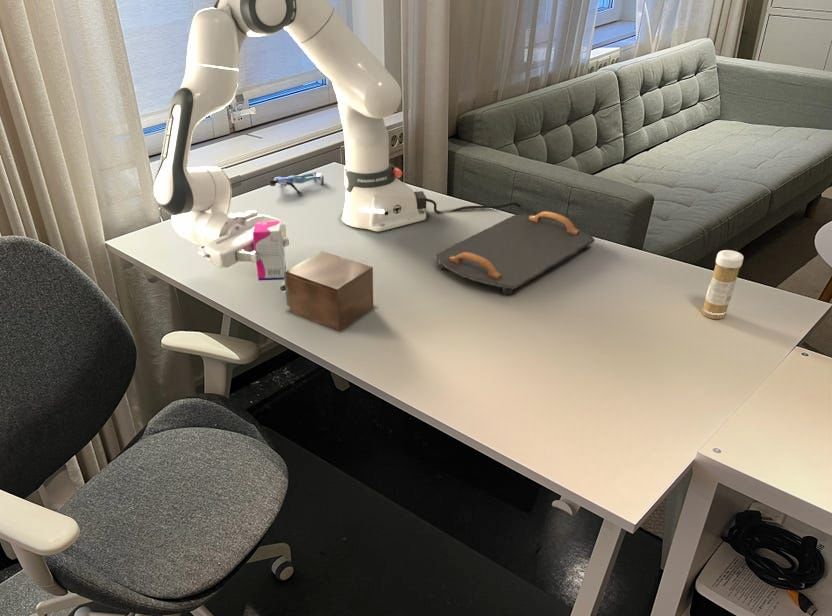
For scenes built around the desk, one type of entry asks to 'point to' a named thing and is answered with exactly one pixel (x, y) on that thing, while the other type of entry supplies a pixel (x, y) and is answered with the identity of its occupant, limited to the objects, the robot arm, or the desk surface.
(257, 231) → the supplement box
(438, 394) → the desk surface
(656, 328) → the desk surface
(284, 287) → the drawer
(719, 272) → the sprinkles bottle
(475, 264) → the serving tray
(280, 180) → the person figurine
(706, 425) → the desk surface
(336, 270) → the cabinet
